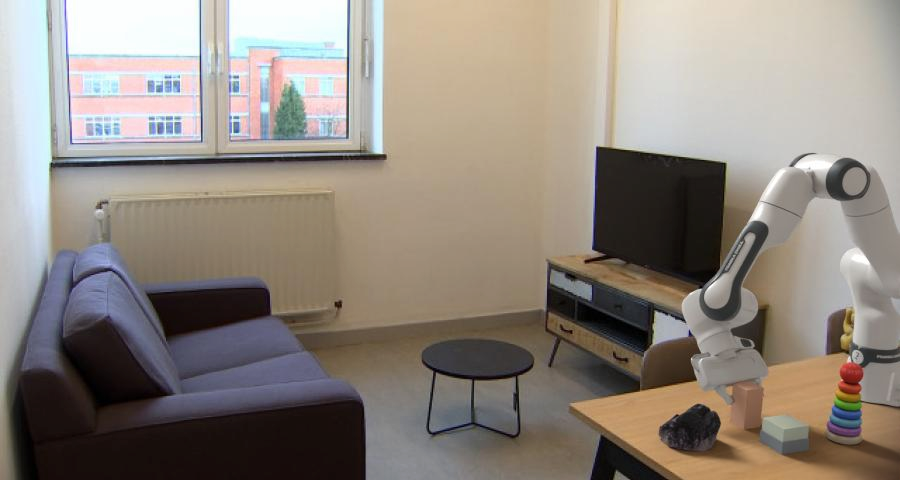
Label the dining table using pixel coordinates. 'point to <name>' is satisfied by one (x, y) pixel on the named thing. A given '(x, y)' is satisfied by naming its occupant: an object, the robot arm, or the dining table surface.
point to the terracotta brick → (746, 405)
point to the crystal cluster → (691, 429)
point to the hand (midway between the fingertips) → (746, 400)
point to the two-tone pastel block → (784, 434)
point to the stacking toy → (847, 407)
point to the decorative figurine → (848, 329)
